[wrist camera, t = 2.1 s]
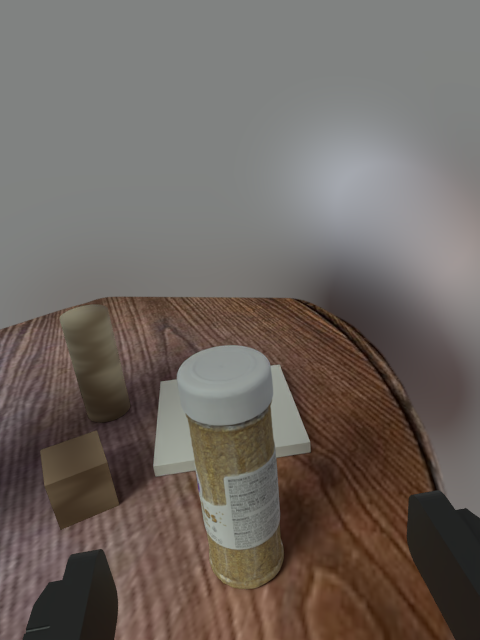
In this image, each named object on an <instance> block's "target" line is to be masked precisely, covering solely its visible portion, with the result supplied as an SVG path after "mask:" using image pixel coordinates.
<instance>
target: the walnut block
mask: <svg viewBox="0 0 480 640" xmlns="http://www.w3.org/2000/svg"><path fill="white" fill-rule="evenodd" d="M40 453H41V461H42V470H43V478H44V486H45V489H46V492H47V494H48V497H49V500H50V502H51V505H52V508H53V511H54V513H55V516H56V519H57V521H58V524H59V527H60V530H62V529H64V528H66V527H69V526H71V525H73V524H76V523H78V522H81V521H83V520H85V519H88V518H90V517H92V516H95V515H97V514H99V513H102V512H104V511H107V510H109V509H111V508H114V507H116V506H118V505H119V502H118V498H117V495H116V491H115V488H114V484H113V481H112V477H111V474H110V470H109V466H108V463H107V460H106V457H105V454H104V451H103V448H102V445H101V442H100V438H99V435H98V432H97V430H96V431H93V432H90V433H87V434H85V435H82V436H79V437H76V438H73V439H70V440H67V441H65V442H62V443H59V444H56V445H53V446H50V447H48V448H45V449H42V450H40Z"/></svg>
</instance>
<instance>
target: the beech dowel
mask: <svg viewBox="0 0 480 640" xmlns="http://www.w3.org/2000/svg"><path fill="white" fill-rule="evenodd" d="M60 322H61V326H62V329H63V333H64V336H65V340H66V343H67V346H68V350H69V353H70V357H71V360H72V364H73V367H74V371H75V374H76V377H77V381H78V384H79V388H80V391H81V395H82V398H83V402H84V405H85V408H86V412H87V415H88V418H89V419H90V420H91V421H94V422H109V421H113V420H115V419H118V418H120V417H121V416H123V415H124V414H125V413H126V412H127V411H128V410H129V408H130V401H129V397H128V392H127V388H126V384H125V380H124V376H123V371H122V367H121V363H120V359H119V355H118V350H117V346H116V342H115V338H114V334H113V329H112V325H111V321H110V317H109V313H108V308H107V307H106V306H103V305H86V306H81V307H77V308H74V309H72V310H69V311H67V312H65V313H64V314H63V315H62V316H61V317H60Z"/></svg>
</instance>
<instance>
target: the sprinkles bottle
mask: <svg viewBox="0 0 480 640" xmlns="http://www.w3.org/2000/svg"><path fill="white" fill-rule="evenodd" d="M177 383H178V390H179V396H180V401H181V406H182V409H183V410H184V412H185V414H186V417H187V418H188V423H189V429H190V436H191V442H192V447H193V453H194V464H195V470H196V476H197V483H198V489H199V495H200V500H201V506H202V512H203V518H204V524H205V528H206V531H207V537H208V542H209V547H210V549H209V559H210V564H211V567H212V570H213V572H214V573H215V574H216V576H217V577H218V578H219V579H220V580H221V581H222V582H223V583H224V584H227V585H229V586H231V587H233V588H238V589H253V588H257V587H260V586H261V585H263V584H265V583H267V582H269V581H270V580H271V579H273V578H274V577H275V576H276V574H277V573H278V572H279V571H280V568H281V566H282V563H283V558H284V548H283V544H282V540H281V538H280V523H279V522H280V506H279V491H278V477H277V463H276V450H275V442H274V439H273V428H272V417H271V407H270V406H271V403H272V397H273V382H272V373H271V366H270V363H269V360H268V359H267V358H266V357H265V356H264V355H263V354H262V353H261V352H259V351H257V350H255V349H252V348H249V347H244V346H236V345H228V346H218V347H213V348H209V349H206V350H203V351H200V352H198V353H196V354H194V355H192V356H191V357H189V358H188V359H187V360H186V361H185V362H184V363H183V364H182V365H181V366H180V368H179V370H178V373H177Z"/></svg>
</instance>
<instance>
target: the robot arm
mask: <svg viewBox="0 0 480 640" xmlns="http://www.w3.org/2000/svg"><path fill="white" fill-rule="evenodd" d="M407 541H408V546H409V550H410V553H411V556H412V558H413V561H414V563H415V565H416V566H417V568H418V570H419V572H420V574H421V576H422V578H423V580H424V581H425V583H426V585H427V587H428V589H429V591H430V593H431V595H432V596H433V598H434V600H435V602H436V604H437V606H438V608H439V609H440V611H441V613H442V615H443V617H444V619H445V621H446V623H447V624H448V626H449V628H450V630H451V632H452V634H453V636H454V638H455V639H456V640H480V518H479V517H477V516H476V515H474V514H473V513H472V512H470V511H469V510H468V509H466V508H465V509H459V510H455V509H454V507H453V506H452V505H451V503H450V502H449V500H448V499H447V498H446V496H445V495H444V494H443V493H442V492H441V491H432V492H426V493H421V494H415V495H411V496H410V497H409V506H408V524H407ZM117 615H118V597H117V590H116V586H115V583H114V580H113V577H112V574H111V571H110V568H109V565H108V562H107V559H106V556H105V553H104V551H103V550H102V549H99V550H93V551H88V552H82V553H76V554H72V555H71V556H70V557H69V559H68V562H67V565H66V569H65V573H64V576H63V580H60V581H55V582H49V583H48V585H47V586H46V588H45V589H44V591H43V592H42V594H41V595H40V596H39V598H38V599H37V601H36V602H35V604H34V606H33V609H32V612H31V615H30V618H29V621H28V624H27V628H26V634H24V637H23V640H114V637H115V630H116V623H117Z"/></svg>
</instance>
